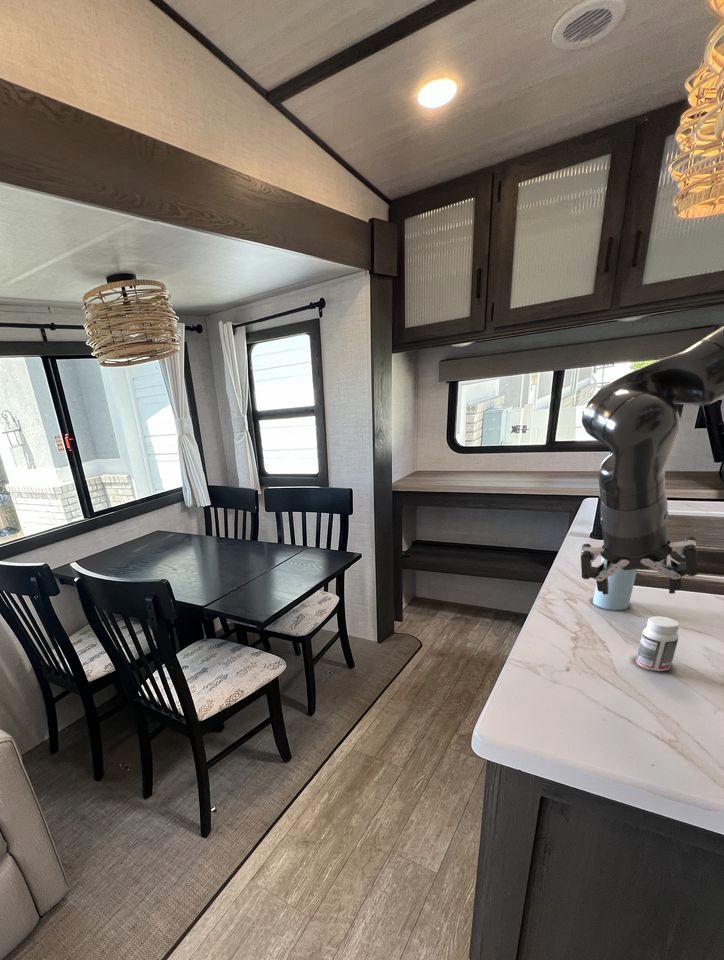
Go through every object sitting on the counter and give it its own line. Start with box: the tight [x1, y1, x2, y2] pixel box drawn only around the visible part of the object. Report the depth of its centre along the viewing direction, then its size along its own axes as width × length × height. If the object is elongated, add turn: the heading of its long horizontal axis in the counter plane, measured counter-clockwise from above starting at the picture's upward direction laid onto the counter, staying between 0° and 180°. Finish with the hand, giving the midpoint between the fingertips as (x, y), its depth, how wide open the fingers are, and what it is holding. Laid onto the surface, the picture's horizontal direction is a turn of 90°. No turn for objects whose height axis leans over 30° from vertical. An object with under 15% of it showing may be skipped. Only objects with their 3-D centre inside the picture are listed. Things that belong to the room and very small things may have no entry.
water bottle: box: [592, 556, 638, 611], centre depth 98 cm, size 6×6×20 cm
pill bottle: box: [635, 615, 680, 672], centre depth 79 cm, size 5×5×8 cm
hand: (637, 590), depth 76 cm, fingers open, 8 cm apart
